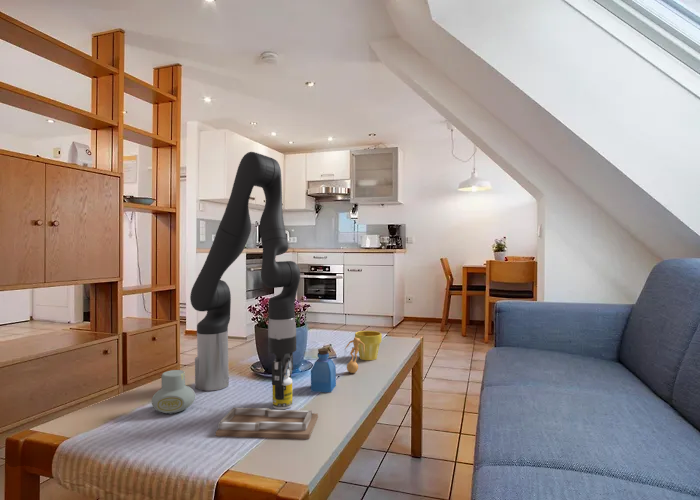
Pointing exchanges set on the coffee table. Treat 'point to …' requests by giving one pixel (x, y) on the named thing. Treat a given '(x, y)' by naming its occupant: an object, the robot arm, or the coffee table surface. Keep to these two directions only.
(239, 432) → the brown rectangular tray
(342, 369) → the coffee table surface
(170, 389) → the air freshener
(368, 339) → the plant pot
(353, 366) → the figurine
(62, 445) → the coffee table surface
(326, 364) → the perfume bottle
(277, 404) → the supplement bottle
